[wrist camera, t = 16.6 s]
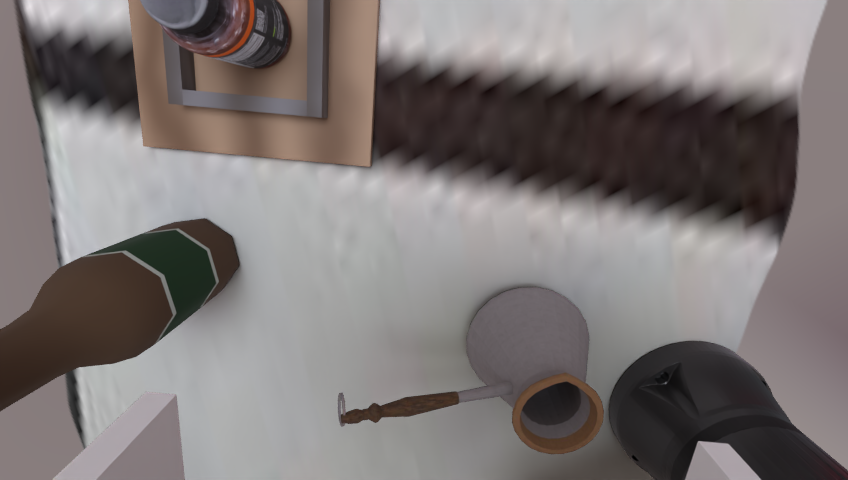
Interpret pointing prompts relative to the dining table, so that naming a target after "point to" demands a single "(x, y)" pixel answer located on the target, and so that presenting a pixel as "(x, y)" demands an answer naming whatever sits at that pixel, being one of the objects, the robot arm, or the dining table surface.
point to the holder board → (266, 89)
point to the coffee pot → (521, 371)
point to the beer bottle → (114, 304)
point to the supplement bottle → (226, 28)
